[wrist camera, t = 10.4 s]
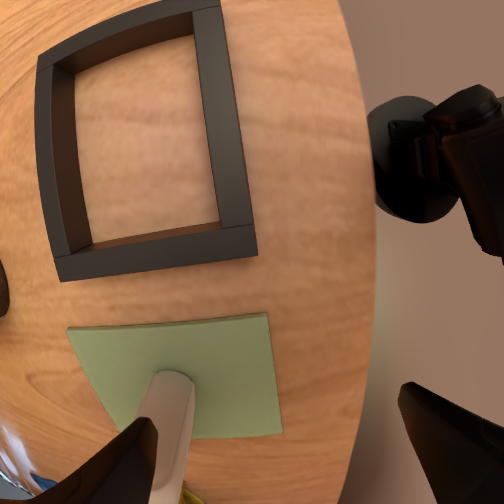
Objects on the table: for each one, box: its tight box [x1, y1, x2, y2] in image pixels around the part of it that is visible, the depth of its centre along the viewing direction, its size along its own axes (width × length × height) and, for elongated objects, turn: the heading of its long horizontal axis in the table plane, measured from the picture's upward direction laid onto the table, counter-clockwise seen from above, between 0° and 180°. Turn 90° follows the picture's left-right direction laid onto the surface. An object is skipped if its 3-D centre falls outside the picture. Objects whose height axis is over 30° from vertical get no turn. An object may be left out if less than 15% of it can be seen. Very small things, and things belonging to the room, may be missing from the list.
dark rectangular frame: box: [34, 0, 258, 282], centre depth 15 cm, size 14×18×3 cm
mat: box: [65, 312, 283, 439], centre depth 22 cm, size 18×14×1 cm
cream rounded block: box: [133, 370, 195, 504], centre depth 16 cm, size 10×4×12 cm, turn 168°
